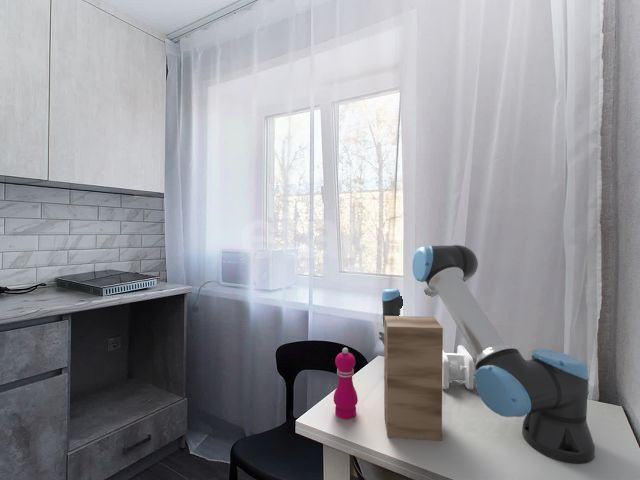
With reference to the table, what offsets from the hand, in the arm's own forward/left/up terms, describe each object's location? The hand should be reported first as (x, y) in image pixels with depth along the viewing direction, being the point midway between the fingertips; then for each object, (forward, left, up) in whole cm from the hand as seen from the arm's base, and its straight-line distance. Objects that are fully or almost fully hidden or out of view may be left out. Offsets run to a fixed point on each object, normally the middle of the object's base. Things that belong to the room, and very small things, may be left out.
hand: (402, 350), depth 112 cm
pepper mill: (-2, +24, -14) cm, 28 cm away
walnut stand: (-17, +12, -14) cm, 25 cm away
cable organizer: (-5, -19, -14) cm, 24 cm away
